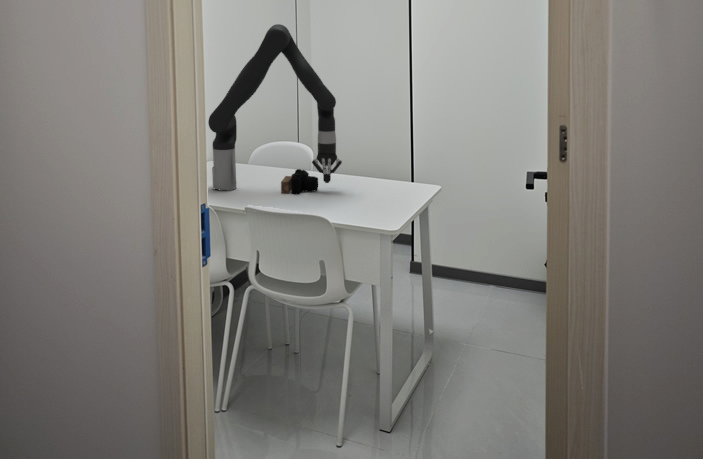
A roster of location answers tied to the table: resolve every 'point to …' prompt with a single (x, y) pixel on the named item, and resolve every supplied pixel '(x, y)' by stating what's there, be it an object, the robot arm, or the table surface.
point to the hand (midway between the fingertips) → (327, 182)
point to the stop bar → (286, 185)
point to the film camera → (303, 182)
